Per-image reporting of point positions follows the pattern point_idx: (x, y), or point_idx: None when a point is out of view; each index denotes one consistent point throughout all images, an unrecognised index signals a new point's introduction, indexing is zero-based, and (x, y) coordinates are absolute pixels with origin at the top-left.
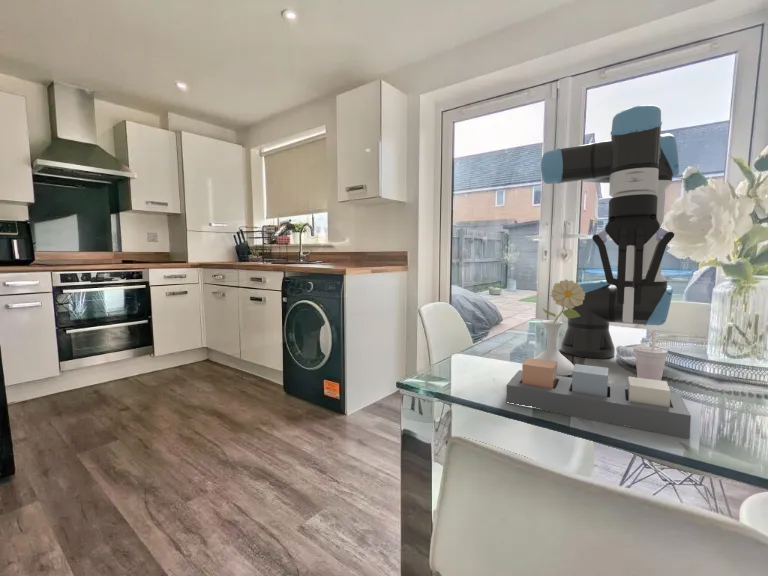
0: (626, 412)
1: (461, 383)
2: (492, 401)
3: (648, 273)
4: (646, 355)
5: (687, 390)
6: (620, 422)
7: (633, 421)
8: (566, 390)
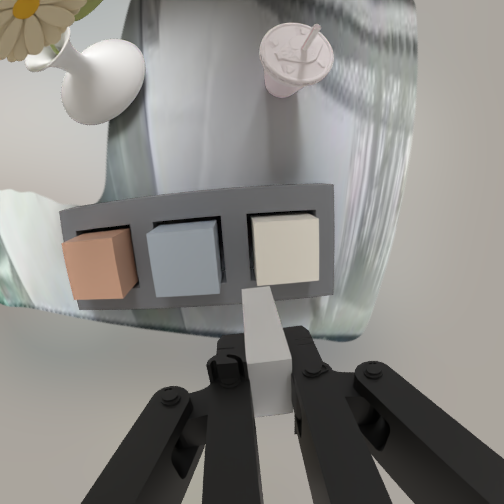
0: None
1: (18, 250)
2: None
3: (369, 450)
4: (289, 84)
5: (338, 52)
6: None
7: None
8: None
